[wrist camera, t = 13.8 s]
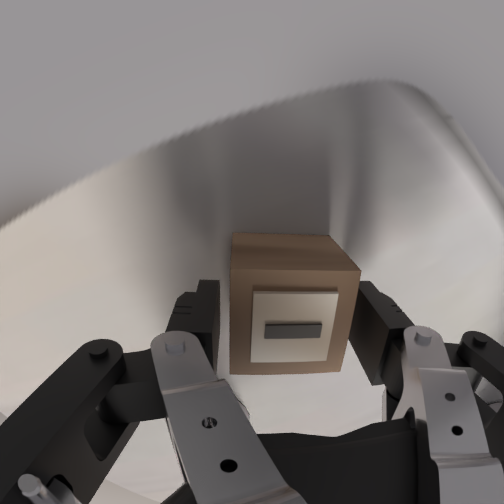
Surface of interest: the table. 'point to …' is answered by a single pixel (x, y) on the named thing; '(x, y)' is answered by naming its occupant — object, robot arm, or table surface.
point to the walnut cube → (289, 303)
